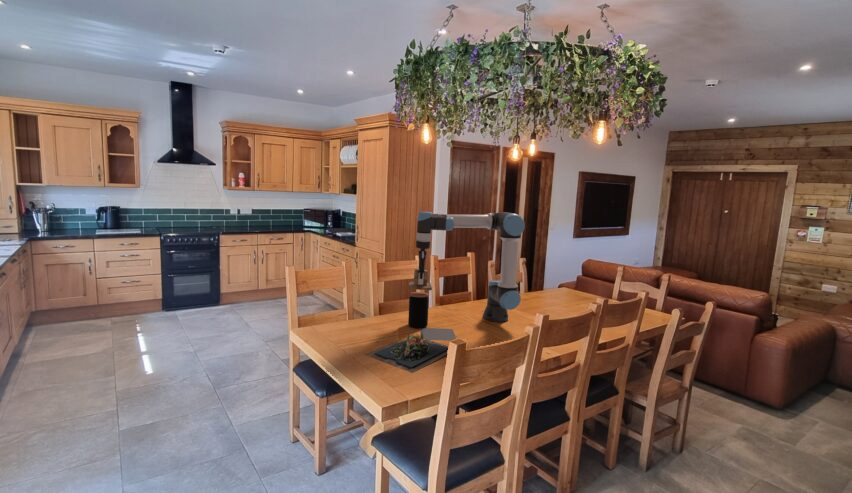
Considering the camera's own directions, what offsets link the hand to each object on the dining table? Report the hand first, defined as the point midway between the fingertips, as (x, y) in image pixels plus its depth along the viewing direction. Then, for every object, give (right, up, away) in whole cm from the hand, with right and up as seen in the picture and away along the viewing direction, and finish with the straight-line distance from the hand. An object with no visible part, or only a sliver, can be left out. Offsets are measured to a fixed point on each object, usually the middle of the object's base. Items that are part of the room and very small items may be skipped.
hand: (420, 283), depth 239 cm
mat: (+9, -26, -8) cm, 29 cm away
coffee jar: (-1, -24, +4) cm, 24 cm away
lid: (0, -2, 0) cm, 2 cm away
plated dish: (-3, -29, -33) cm, 44 cm away
